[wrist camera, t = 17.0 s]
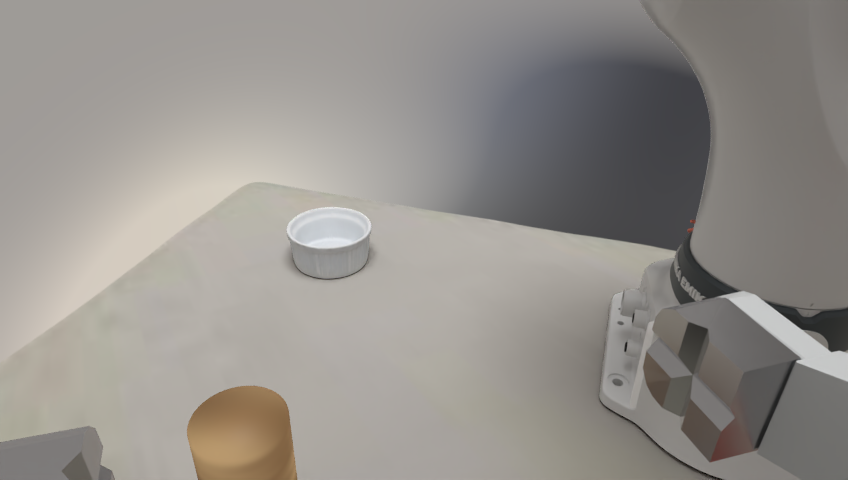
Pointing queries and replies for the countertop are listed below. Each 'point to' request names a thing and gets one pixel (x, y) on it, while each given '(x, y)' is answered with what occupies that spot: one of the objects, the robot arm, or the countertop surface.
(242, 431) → the dowel
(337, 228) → the ramekin
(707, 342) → the robot arm
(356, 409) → the countertop surface
